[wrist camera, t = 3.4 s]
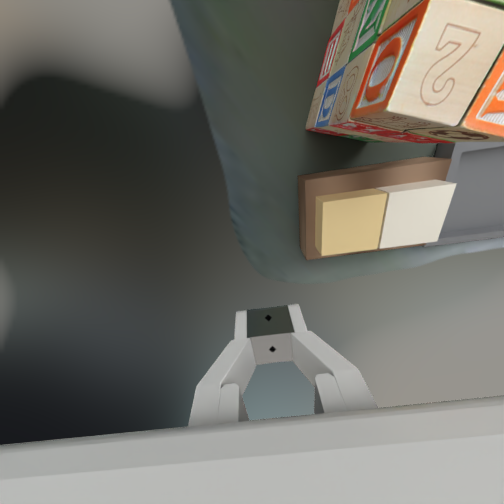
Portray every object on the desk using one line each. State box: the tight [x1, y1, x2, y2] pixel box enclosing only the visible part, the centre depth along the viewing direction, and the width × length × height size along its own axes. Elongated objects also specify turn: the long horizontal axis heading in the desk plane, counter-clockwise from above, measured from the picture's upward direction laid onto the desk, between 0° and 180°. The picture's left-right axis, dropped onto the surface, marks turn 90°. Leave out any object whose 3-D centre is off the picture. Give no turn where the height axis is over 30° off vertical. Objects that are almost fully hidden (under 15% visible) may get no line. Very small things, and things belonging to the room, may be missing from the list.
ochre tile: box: [315, 188, 387, 256], centre depth 18 cm, size 5×5×2 cm
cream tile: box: [376, 179, 457, 249], centre depth 17 cm, size 5×5×2 cm
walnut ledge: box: [298, 157, 452, 260], centre depth 20 cm, size 12×8×3 cm, turn 98°
